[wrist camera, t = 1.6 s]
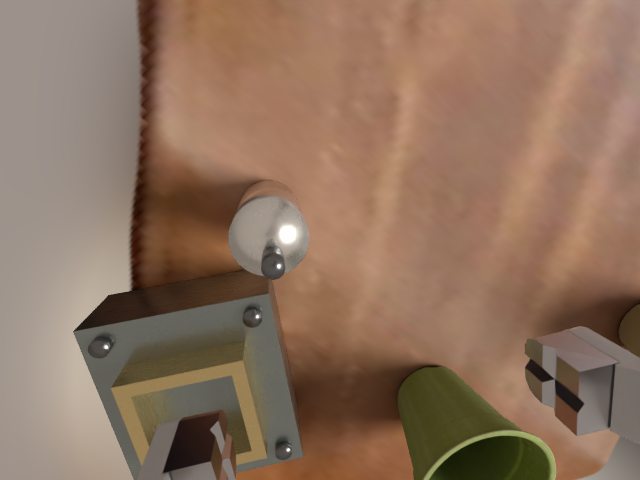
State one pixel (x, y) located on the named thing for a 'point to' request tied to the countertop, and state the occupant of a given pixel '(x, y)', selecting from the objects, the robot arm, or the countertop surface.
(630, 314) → the squeeze bottle
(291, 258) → the spout can
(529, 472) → the plant pot
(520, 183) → the countertop surface
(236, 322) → the grey square housing block
